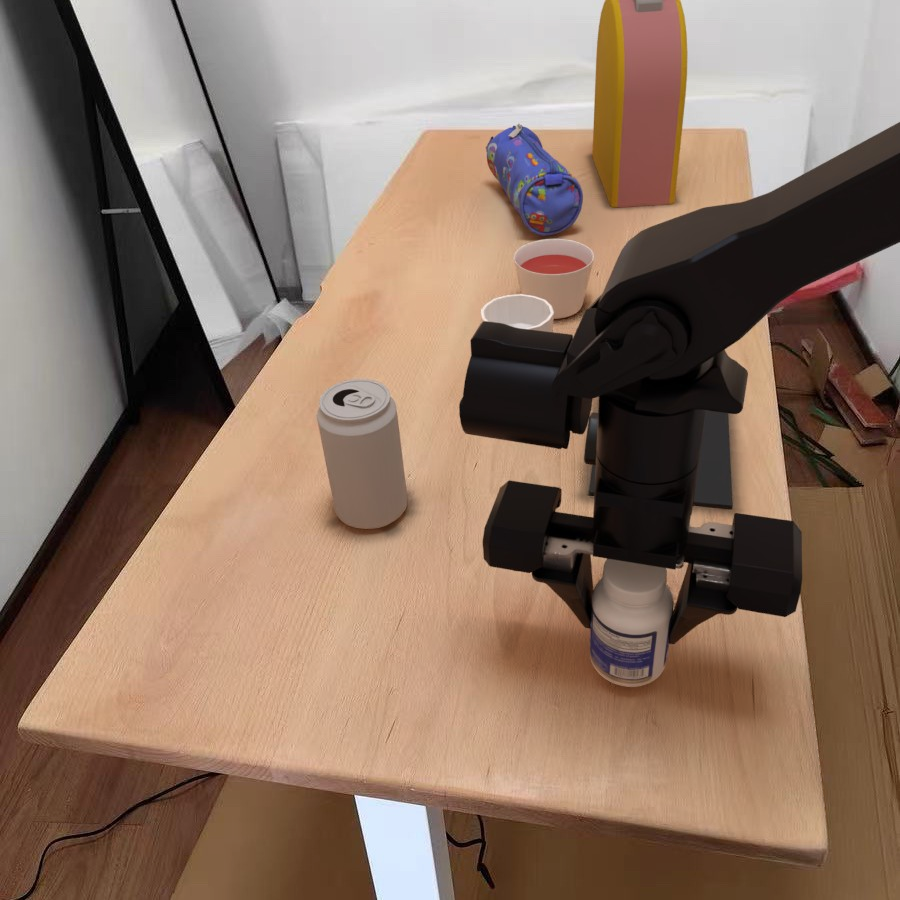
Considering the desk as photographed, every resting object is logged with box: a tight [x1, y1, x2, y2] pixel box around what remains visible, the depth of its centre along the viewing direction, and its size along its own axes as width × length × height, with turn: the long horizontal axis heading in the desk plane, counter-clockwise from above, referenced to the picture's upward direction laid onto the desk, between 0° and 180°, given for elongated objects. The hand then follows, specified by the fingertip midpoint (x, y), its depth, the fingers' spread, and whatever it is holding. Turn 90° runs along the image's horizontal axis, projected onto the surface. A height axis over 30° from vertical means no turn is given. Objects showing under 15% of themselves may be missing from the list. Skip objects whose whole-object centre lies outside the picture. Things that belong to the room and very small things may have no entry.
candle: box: [513, 238, 595, 320], centre depth 99 cm, size 9×9×6 cm
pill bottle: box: [589, 558, 675, 688], centre depth 57 cm, size 5×5×9 cm
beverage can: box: [316, 378, 409, 530], centre depth 72 cm, size 6×6×12 cm
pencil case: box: [485, 122, 584, 237], centre depth 121 cm, size 22×9×10 cm, turn 11°
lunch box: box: [591, 0, 688, 208], centre depth 122 cm, size 21×9×26 cm, turn 0°
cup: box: [480, 293, 555, 332], centre depth 82 cm, size 7×7×11 cm
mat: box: [587, 410, 734, 510], centre depth 81 cm, size 20×12×1 cm, turn 167°
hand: (630, 631), depth 59 cm, fingers closed on pill bottle, 5 cm apart
